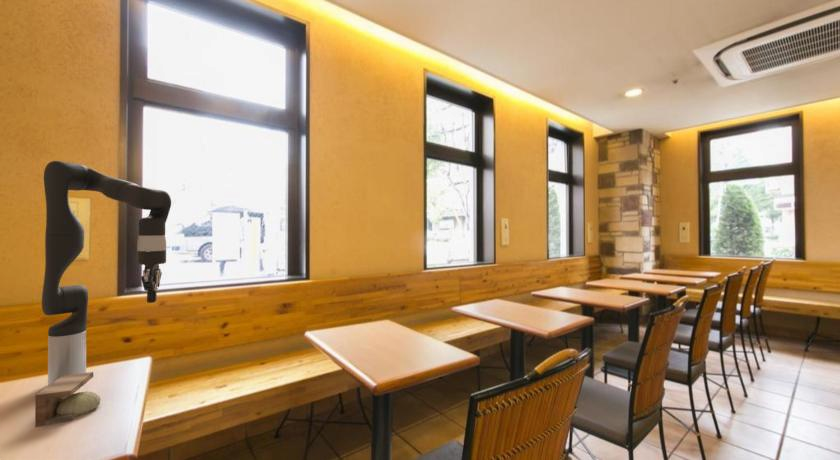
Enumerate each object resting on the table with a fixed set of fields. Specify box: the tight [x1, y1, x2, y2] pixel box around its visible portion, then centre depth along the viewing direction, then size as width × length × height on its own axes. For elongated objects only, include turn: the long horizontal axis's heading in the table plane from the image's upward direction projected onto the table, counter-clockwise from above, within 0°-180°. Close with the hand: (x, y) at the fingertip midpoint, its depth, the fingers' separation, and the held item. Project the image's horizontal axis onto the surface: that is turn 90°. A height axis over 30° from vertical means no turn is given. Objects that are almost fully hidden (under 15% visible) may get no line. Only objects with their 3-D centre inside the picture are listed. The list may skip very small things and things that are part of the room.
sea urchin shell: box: [56, 391, 101, 417], centre depth 102 cm, size 9×8×8 cm
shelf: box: [34, 371, 94, 428], centre depth 101 cm, size 14×7×8 cm, turn 24°
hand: (151, 302), depth 115 cm, fingers closed
